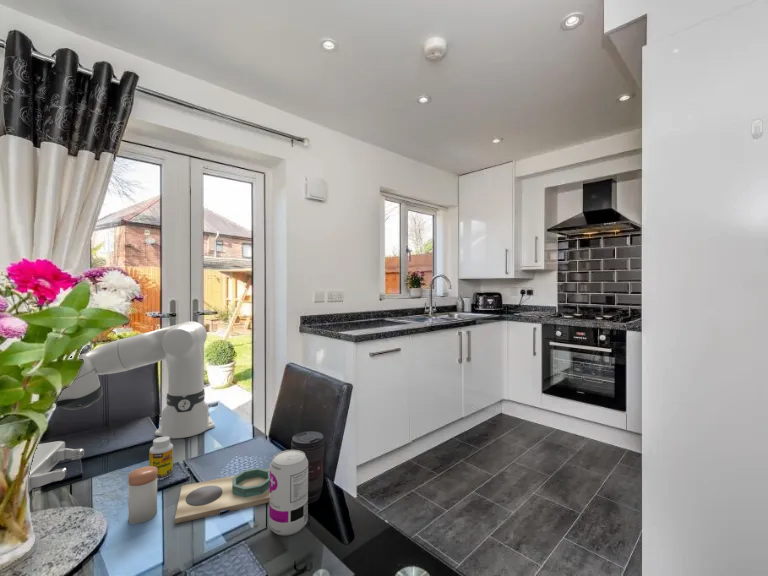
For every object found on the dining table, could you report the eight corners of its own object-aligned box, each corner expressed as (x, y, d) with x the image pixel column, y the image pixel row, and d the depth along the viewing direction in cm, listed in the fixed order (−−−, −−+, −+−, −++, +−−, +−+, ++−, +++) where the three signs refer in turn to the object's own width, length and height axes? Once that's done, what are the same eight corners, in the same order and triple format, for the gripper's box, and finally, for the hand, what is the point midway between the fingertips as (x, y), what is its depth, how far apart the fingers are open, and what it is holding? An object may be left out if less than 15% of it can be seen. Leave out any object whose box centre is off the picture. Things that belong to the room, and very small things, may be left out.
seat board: (181, 490, 91) (182, 477, 91) (271, 472, 100) (271, 461, 100) (174, 523, 78) (174, 509, 78) (277, 500, 87) (278, 487, 87)
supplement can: (268, 540, 73) (269, 468, 73) (269, 516, 81) (270, 450, 81) (308, 533, 76) (309, 463, 76) (306, 510, 84) (306, 446, 84)
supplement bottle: (149, 483, 94) (149, 445, 94) (149, 474, 99) (149, 437, 99) (173, 477, 97) (173, 440, 97) (172, 468, 102) (172, 433, 102)
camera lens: (330, 493, 90) (330, 435, 90) (306, 510, 84) (307, 446, 84) (307, 483, 95) (308, 427, 95) (283, 498, 88) (284, 438, 88)
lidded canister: (131, 511, 82) (131, 468, 82) (159, 506, 85) (159, 464, 85) (125, 526, 77) (125, 480, 77) (154, 520, 80) (155, 475, 80)
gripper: (14, 467, 80) (91, 456, 85) (-51, 523, 61) (53, 504, 67) (15, 439, 80) (91, 429, 85) (-51, 486, 61) (53, 470, 67)
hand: (74, 462), depth 76 cm, fingers open, 8 cm apart
